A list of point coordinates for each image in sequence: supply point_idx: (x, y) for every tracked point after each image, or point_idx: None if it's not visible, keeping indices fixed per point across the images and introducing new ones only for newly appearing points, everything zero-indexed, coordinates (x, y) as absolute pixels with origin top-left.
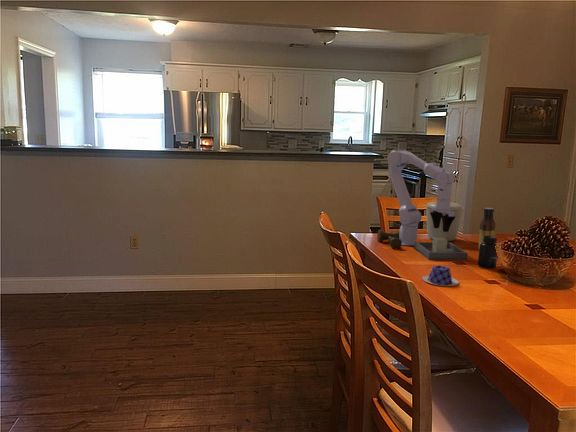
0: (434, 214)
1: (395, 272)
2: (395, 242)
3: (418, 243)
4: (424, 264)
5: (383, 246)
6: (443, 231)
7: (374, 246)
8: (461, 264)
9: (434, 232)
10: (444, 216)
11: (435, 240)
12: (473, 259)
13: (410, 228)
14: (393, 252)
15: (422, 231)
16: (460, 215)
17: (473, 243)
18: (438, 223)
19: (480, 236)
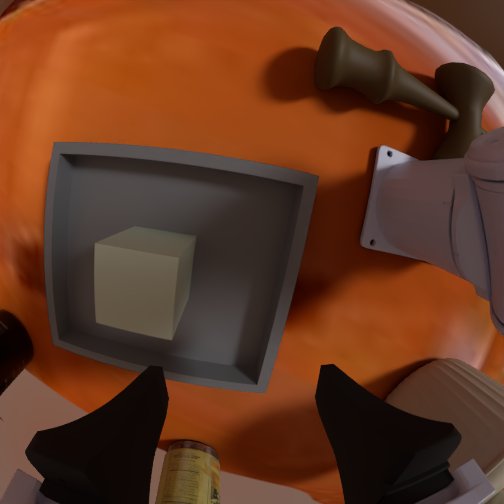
0: (382, 464)
1: (19, 9)
2: (322, 46)
3: (273, 176)
4: (30, 102)
5: (363, 41)
6: (154, 366)
7: (361, 9)
8: (18, 264)
9: (431, 383)
10: (25, 450)
11: (124, 245)
12: (84, 361)
13: (444, 189)
14: (235, 23)
15: (497, 362)
16: None
17: (325, 465)
18: (329, 422)
19: (184, 490)
